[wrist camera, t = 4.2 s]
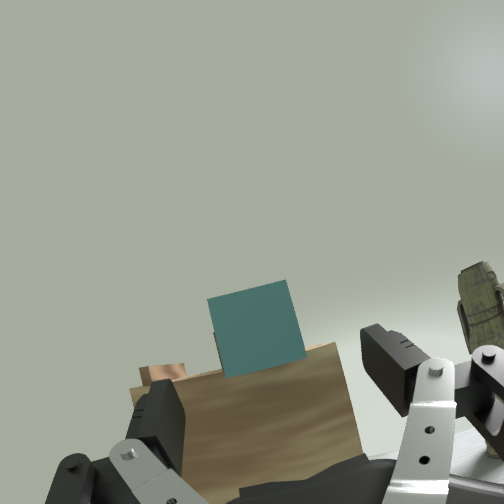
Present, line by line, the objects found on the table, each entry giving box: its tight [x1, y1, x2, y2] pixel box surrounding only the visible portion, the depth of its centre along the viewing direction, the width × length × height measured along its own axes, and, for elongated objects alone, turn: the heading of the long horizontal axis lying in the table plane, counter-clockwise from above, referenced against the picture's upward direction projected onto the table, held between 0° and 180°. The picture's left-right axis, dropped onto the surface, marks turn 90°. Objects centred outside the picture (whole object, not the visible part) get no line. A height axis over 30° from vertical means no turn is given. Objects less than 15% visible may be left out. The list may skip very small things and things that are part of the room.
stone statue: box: [457, 261, 504, 458], centre depth 39 cm, size 9×12×35 cm
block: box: [207, 280, 307, 378], centre depth 25 cm, size 24×4×4 cm, turn 179°
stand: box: [130, 332, 363, 504], centre depth 23 cm, size 12×16×35 cm
